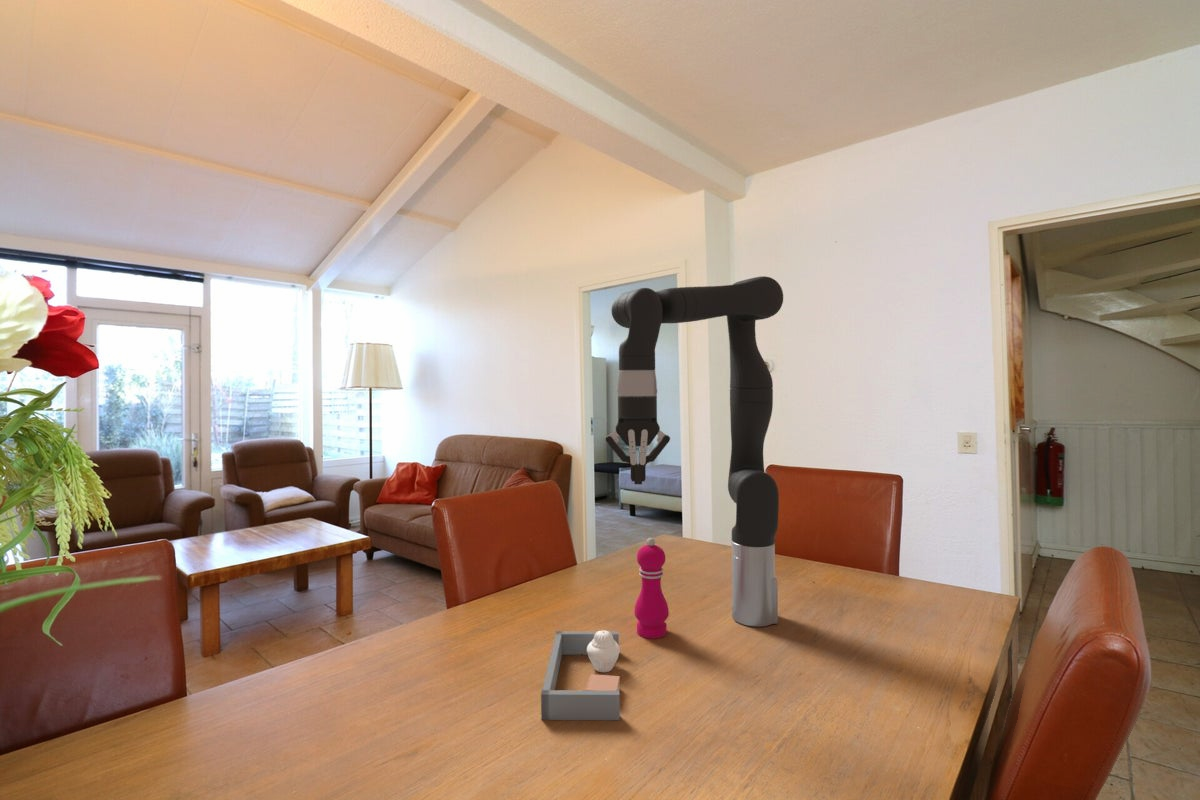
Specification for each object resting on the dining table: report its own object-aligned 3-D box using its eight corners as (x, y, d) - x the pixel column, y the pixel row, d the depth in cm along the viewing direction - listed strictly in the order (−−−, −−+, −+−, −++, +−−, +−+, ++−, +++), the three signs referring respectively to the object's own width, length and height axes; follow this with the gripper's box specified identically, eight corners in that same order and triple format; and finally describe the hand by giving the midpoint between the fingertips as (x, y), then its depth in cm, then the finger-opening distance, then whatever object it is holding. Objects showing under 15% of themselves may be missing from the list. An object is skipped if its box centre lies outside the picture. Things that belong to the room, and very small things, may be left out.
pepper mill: (667, 641, 113) (666, 543, 113) (632, 638, 115) (631, 541, 114) (670, 626, 120) (669, 534, 120) (636, 623, 122) (636, 532, 121)
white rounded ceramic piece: (594, 657, 107) (593, 621, 106) (624, 663, 104) (624, 626, 104) (581, 673, 101) (581, 635, 101) (613, 679, 99) (613, 640, 99)
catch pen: (618, 651, 109) (618, 631, 109) (619, 720, 87) (619, 694, 86) (556, 651, 109) (556, 631, 109) (541, 719, 87) (541, 694, 87)
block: (619, 690, 96) (619, 676, 96) (616, 707, 91) (615, 691, 91) (591, 688, 96) (590, 674, 96) (585, 704, 91) (585, 689, 91)
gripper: (669, 393, 111) (670, 480, 111) (603, 394, 111) (604, 480, 112) (673, 394, 104) (674, 487, 104) (602, 394, 104) (603, 487, 104)
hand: (637, 483), depth 108 cm, fingers closed
